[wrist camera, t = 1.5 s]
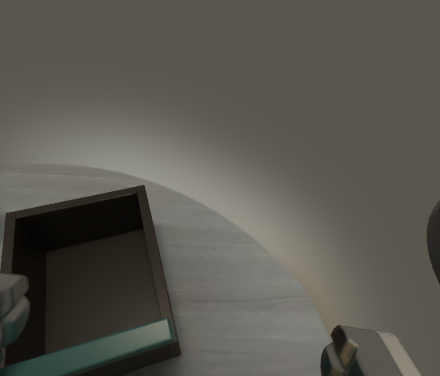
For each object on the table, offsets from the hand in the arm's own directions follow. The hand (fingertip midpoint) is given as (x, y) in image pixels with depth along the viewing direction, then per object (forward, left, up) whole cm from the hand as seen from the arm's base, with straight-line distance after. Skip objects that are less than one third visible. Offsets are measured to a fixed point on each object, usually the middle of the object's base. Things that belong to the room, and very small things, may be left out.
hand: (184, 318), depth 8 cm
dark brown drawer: (+11, -1, -22) cm, 24 cm away
